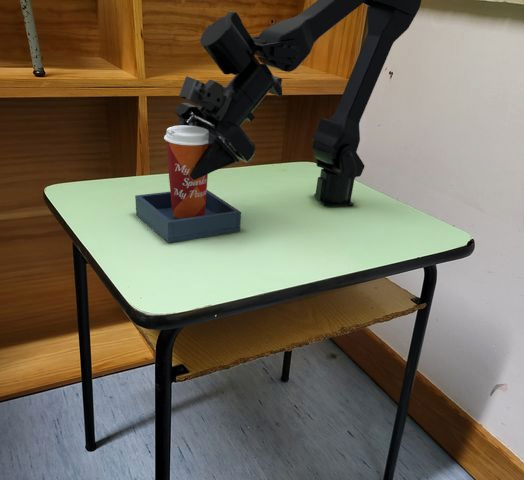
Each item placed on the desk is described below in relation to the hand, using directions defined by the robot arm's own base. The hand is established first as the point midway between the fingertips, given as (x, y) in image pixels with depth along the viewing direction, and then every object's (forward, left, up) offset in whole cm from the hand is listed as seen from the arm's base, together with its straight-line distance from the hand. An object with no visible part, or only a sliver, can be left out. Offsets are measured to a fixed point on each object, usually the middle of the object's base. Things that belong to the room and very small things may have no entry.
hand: (181, 171), depth 88 cm
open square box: (-1, 0, -9) cm, 9 cm away
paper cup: (-1, 0, -8) cm, 8 cm away
